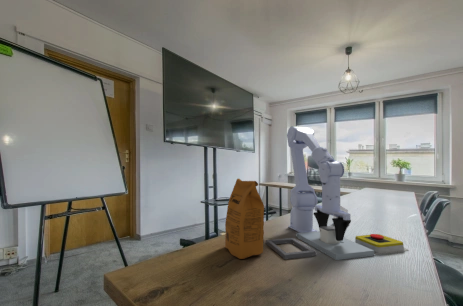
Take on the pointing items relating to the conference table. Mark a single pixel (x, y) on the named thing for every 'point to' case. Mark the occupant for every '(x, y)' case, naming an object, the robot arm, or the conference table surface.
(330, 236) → the grey block
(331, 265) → the conference table surface
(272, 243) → the grey square frame
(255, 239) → the coffee package
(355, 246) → the port plate
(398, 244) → the emergency button
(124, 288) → the conference table surface
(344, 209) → the white angled block
